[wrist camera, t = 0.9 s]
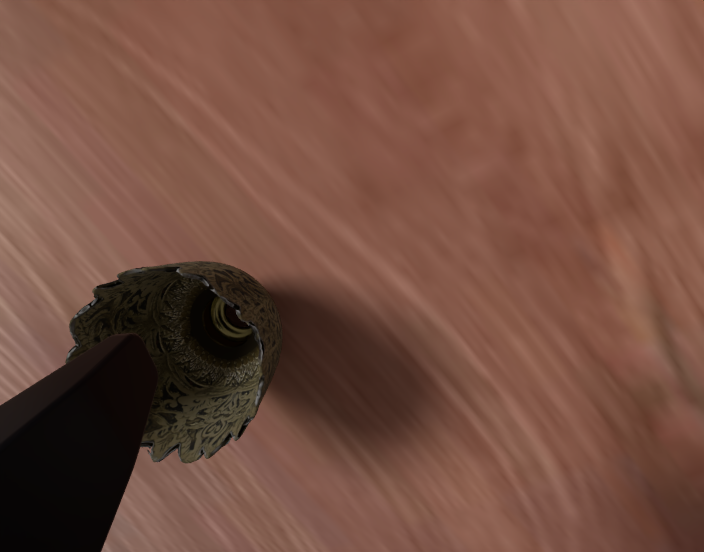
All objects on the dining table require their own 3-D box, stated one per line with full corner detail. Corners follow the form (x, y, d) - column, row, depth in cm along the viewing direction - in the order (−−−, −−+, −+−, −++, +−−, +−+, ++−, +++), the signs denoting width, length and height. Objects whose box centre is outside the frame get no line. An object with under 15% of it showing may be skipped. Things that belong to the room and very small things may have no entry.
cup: (329, 367, 26) (284, 450, 19) (197, 392, 28) (104, 479, 20) (289, 222, 25) (224, 246, 17) (153, 256, 27) (37, 293, 19)
